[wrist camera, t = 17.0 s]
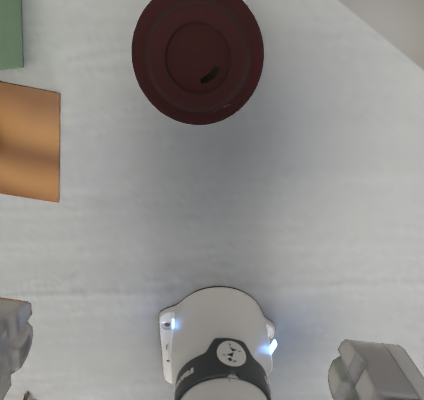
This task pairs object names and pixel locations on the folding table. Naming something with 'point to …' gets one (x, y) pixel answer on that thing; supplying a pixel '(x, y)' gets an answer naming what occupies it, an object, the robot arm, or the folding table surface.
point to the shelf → (11, 34)
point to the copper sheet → (29, 142)
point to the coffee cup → (197, 58)
